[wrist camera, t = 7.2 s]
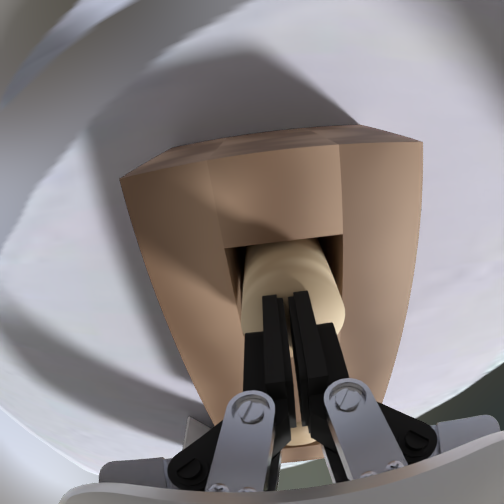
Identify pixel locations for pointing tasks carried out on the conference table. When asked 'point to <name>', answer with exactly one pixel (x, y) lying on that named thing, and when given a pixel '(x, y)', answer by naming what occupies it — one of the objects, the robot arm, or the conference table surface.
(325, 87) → the conference table surface
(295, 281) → the peg
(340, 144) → the walnut block
